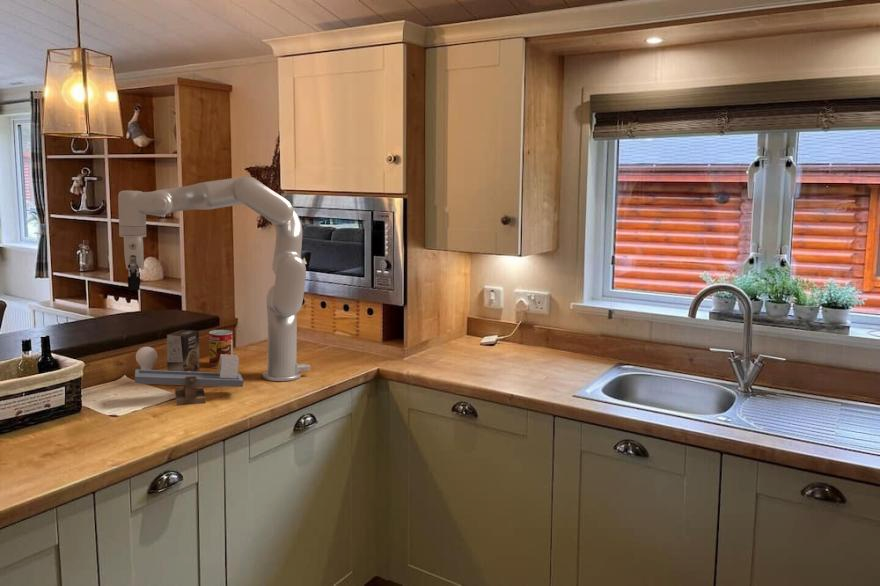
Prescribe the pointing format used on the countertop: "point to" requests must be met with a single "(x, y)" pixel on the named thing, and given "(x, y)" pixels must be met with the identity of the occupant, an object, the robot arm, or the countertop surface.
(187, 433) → the countertop surface
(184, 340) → the coffee box
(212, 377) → the beam
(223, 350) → the canned food
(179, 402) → the fulcrum stand
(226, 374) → the rider
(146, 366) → the lightbulb
